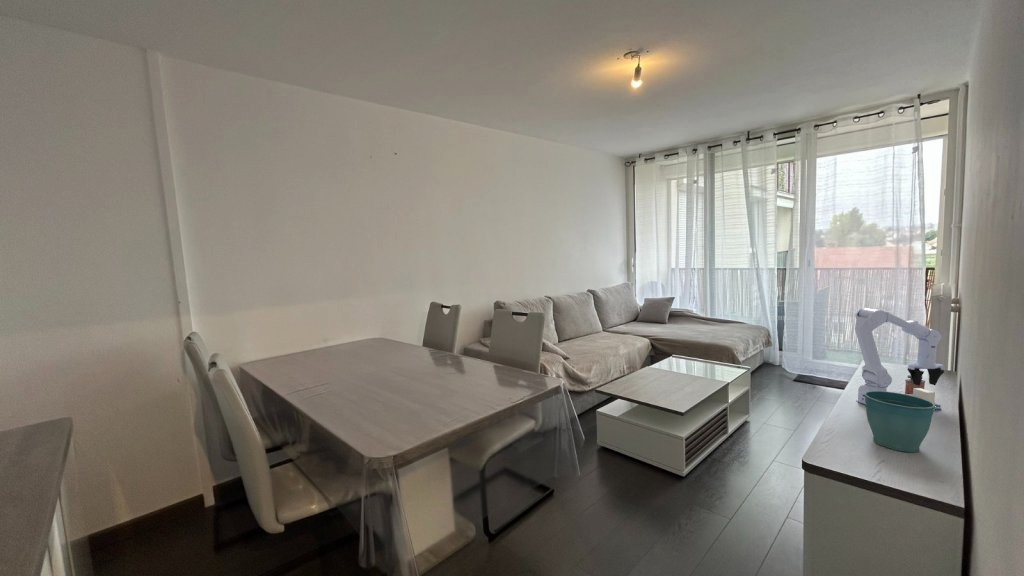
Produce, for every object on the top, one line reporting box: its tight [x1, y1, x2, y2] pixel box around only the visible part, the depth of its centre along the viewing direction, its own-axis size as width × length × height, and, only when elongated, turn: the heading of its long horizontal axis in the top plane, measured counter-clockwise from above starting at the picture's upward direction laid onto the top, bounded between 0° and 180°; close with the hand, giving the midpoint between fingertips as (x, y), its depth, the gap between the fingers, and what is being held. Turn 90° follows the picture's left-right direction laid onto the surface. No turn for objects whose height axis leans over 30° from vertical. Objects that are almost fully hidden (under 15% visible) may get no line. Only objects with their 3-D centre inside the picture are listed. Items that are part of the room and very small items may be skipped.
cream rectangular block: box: [913, 388, 936, 404], centre depth 182 cm, size 4×6×7 cm, turn 3°
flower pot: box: [864, 391, 935, 453], centre depth 143 cm, size 18×18×17 cm
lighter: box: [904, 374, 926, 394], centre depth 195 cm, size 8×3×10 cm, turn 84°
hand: (924, 384), depth 182 cm, fingers open, 7 cm apart
